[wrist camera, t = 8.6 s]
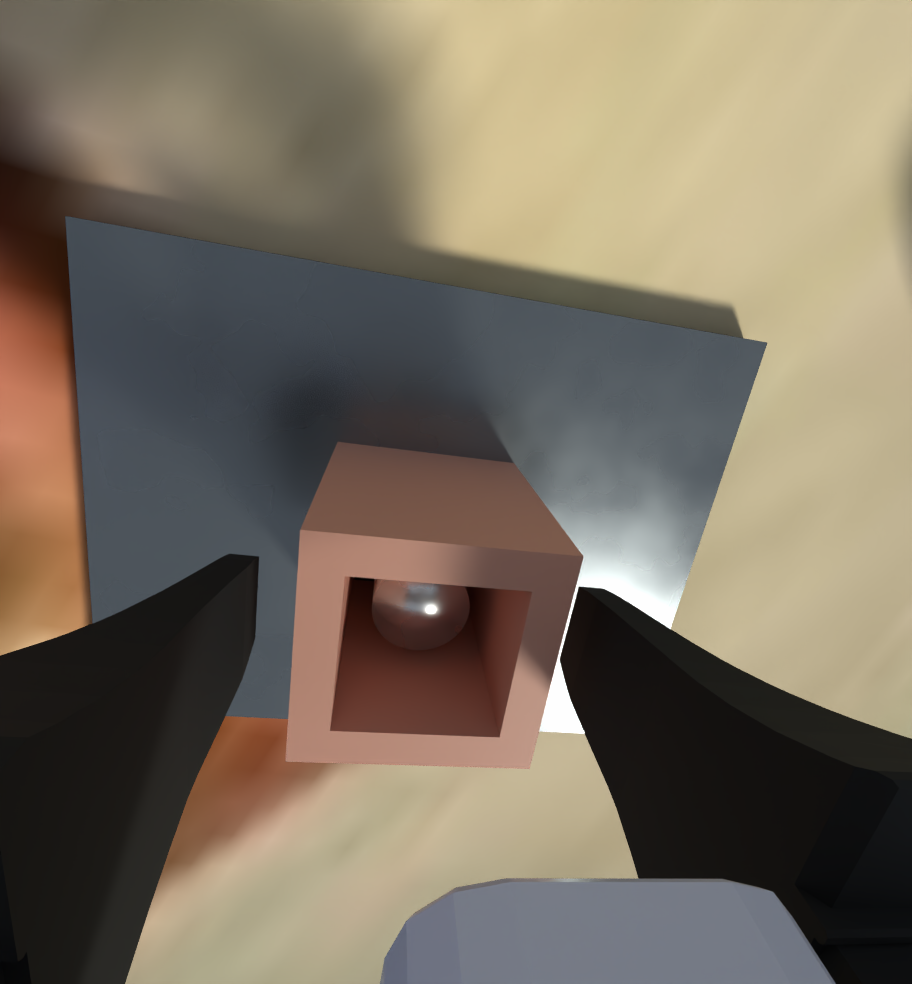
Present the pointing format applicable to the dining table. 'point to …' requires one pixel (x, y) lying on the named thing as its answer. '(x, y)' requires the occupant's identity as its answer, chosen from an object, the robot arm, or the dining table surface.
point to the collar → (439, 560)
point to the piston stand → (374, 426)
